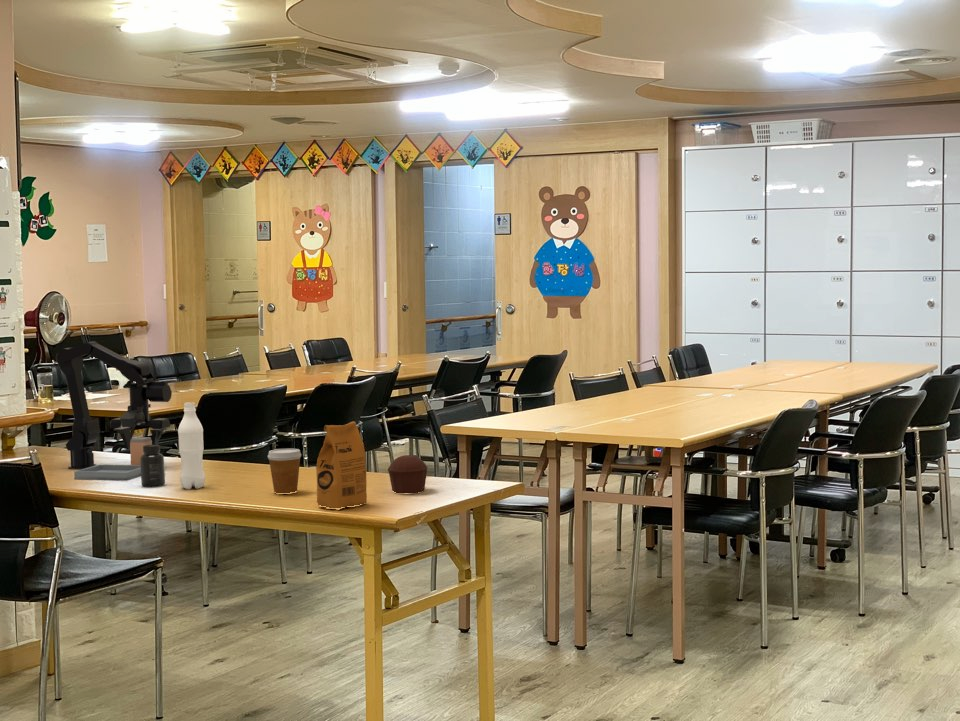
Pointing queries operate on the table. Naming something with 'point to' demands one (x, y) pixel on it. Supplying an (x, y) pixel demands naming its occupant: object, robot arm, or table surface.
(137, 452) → the tall box
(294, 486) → the disposable coffee cup
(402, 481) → the muffin
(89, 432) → the robot arm
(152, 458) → the supplement bottle
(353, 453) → the coffee package
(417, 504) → the table surface
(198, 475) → the water bottle
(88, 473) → the tray
